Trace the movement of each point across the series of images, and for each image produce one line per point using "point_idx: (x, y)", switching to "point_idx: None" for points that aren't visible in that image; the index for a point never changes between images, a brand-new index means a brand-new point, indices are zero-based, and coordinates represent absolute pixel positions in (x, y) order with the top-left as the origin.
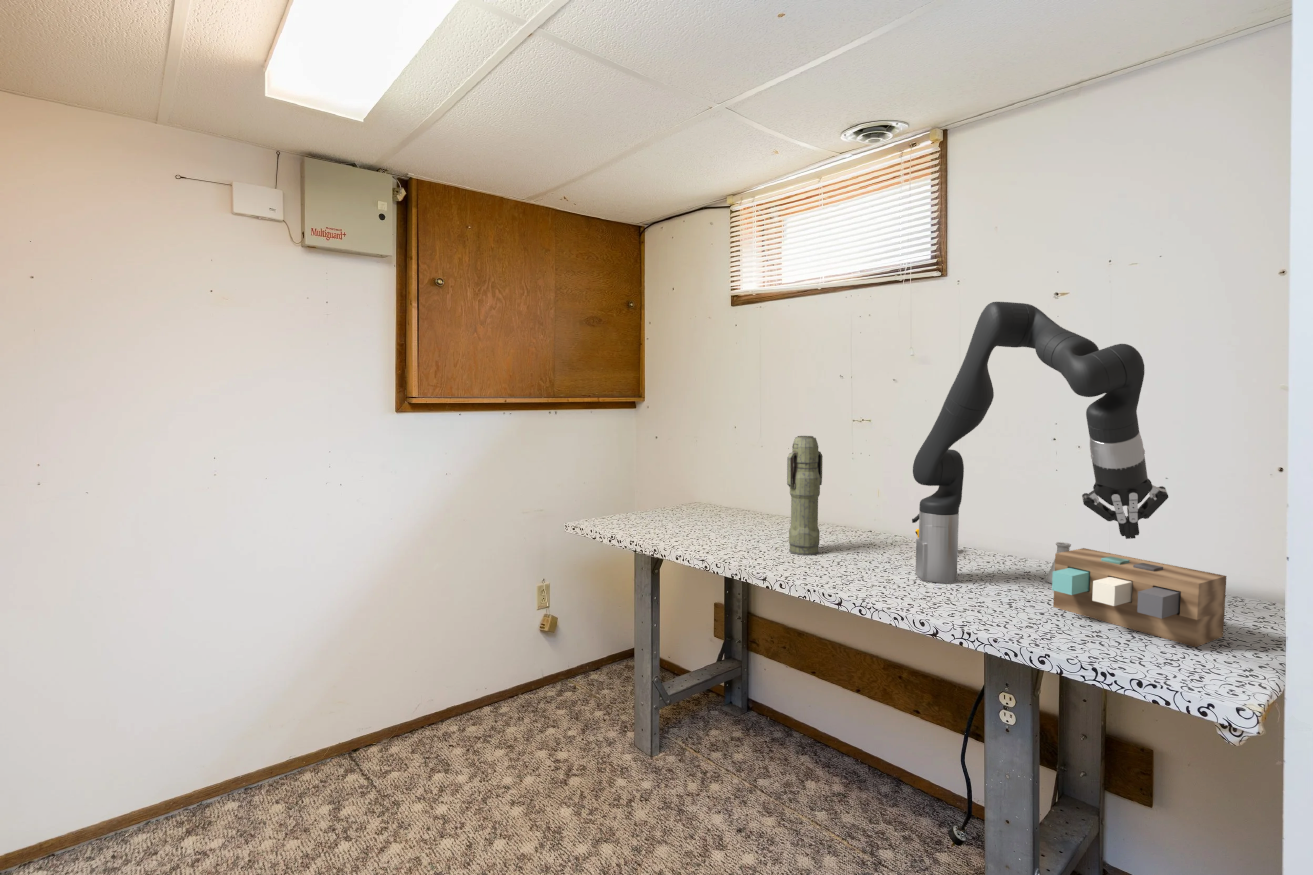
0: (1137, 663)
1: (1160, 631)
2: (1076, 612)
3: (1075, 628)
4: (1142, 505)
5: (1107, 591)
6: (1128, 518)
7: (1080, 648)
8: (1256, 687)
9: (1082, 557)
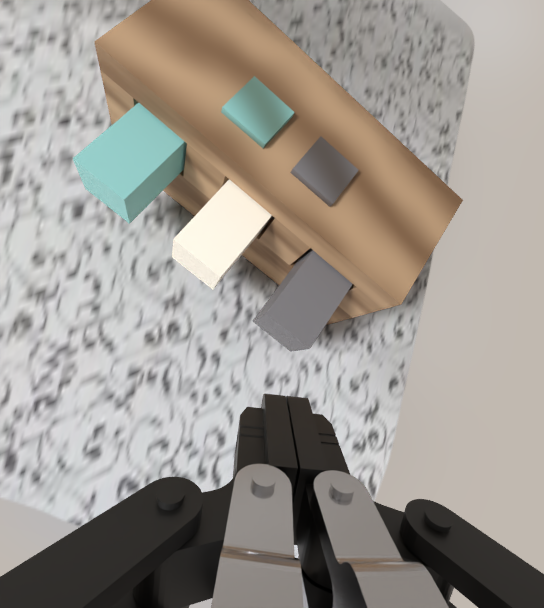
0: (209, 475)
1: None
2: None
3: (134, 295)
4: (452, 580)
5: (203, 271)
6: (302, 497)
7: (114, 435)
8: None
9: (174, 80)
